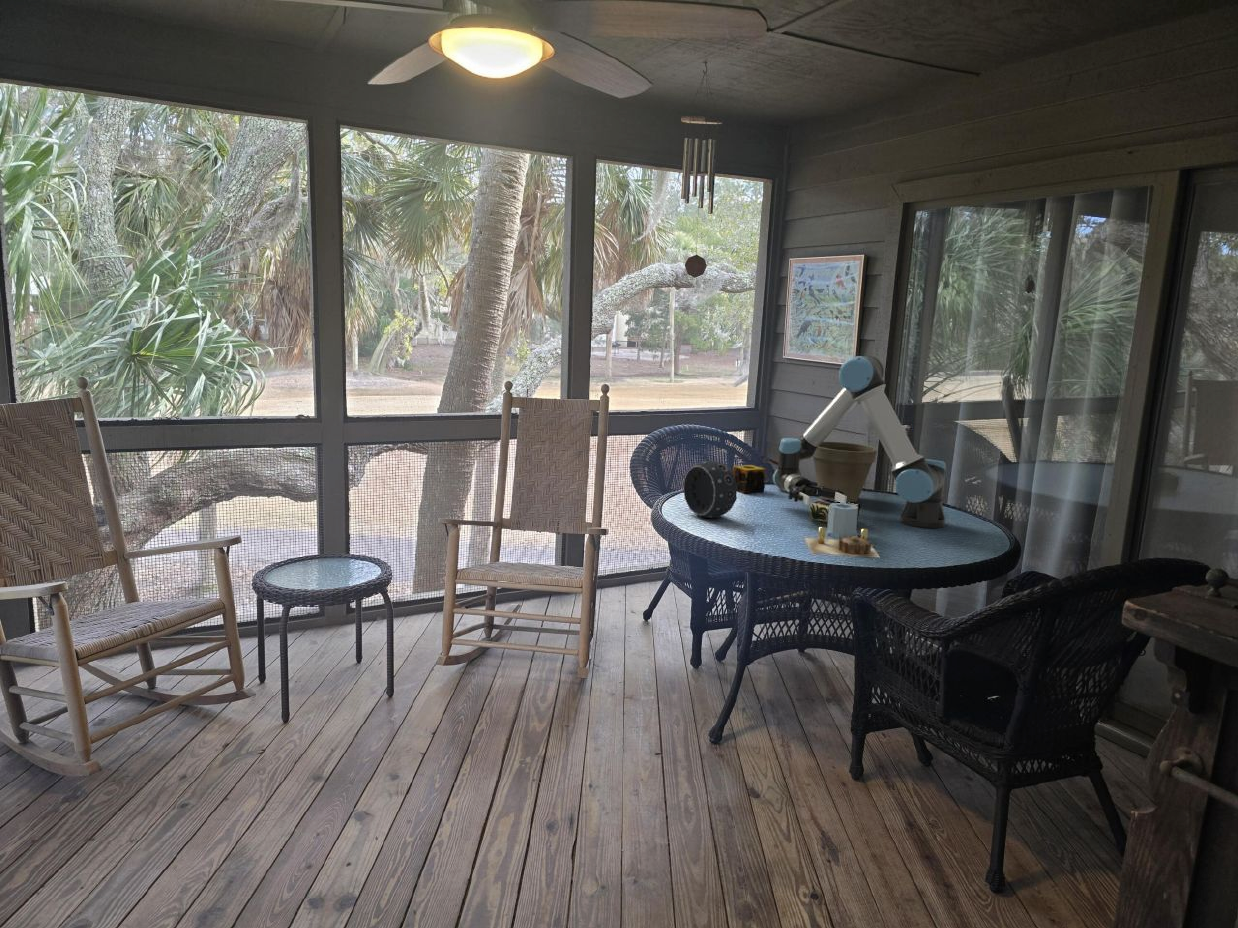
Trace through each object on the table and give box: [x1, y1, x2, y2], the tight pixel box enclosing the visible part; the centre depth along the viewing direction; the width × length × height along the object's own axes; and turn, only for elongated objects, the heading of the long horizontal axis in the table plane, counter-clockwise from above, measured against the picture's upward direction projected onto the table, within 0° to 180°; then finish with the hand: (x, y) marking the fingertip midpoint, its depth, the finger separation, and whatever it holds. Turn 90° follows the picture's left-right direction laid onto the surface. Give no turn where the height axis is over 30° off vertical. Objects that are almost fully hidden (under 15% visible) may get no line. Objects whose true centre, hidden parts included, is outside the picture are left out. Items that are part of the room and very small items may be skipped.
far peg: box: [859, 527, 869, 540], centre depth 249 cm, size 2×2×5 cm
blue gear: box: [825, 502, 859, 539], centre depth 260 cm, size 10×10×11 cm
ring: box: [682, 460, 738, 519], centre depth 283 cm, size 11×20×20 cm, turn 33°
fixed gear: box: [838, 536, 872, 555], centre depth 243 cm, size 9×9×4 cm
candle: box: [732, 464, 767, 495], centre depth 329 cm, size 10×10×10 cm
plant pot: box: [811, 441, 878, 503], centre depth 318 cm, size 25×25×22 cm
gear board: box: [804, 537, 881, 559], centre depth 246 cm, size 20×17×2 cm
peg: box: [817, 526, 826, 544], centre depth 250 cm, size 2×2×5 cm
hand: (827, 500), depth 269 cm, fingers open, 13 cm apart
